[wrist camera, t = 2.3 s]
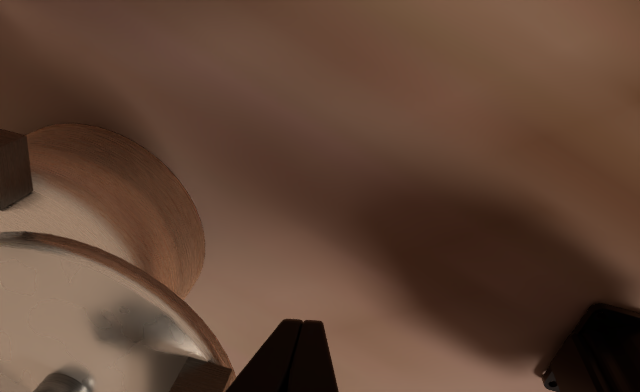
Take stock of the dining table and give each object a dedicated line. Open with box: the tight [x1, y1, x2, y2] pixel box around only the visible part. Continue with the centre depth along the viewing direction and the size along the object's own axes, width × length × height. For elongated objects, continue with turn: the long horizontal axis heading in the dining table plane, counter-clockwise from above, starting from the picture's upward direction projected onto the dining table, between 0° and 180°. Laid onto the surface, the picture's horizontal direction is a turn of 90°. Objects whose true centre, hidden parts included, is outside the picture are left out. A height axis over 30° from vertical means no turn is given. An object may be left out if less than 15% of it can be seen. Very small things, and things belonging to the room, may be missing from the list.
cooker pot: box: [0, 123, 205, 301], centre depth 23 cm, size 13×18×9 cm
